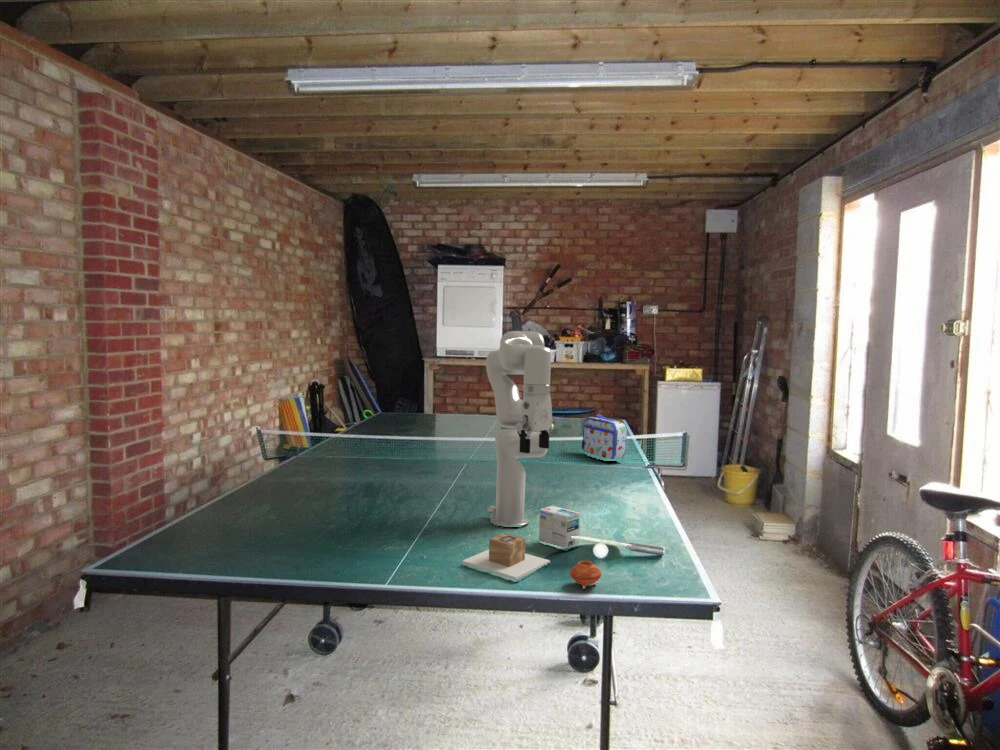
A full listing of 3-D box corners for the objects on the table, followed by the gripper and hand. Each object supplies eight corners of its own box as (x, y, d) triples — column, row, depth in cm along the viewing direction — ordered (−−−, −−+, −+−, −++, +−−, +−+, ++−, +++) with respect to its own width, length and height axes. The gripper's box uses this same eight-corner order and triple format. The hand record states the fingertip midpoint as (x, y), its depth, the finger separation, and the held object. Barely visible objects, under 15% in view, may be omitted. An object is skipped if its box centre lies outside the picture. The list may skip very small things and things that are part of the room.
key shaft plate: (462, 565, 176) (462, 538, 175) (497, 550, 189) (498, 525, 188) (516, 583, 165) (517, 554, 165) (549, 565, 178) (550, 539, 177)
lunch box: (577, 455, 335) (578, 412, 333) (592, 453, 340) (594, 412, 339) (611, 465, 311) (613, 420, 310) (628, 463, 317) (630, 419, 315)
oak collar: (509, 567, 172) (510, 545, 172) (488, 560, 176) (489, 539, 176) (524, 559, 178) (525, 538, 177) (504, 554, 182) (504, 533, 181)
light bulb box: (579, 547, 194) (581, 511, 193) (566, 552, 189) (567, 516, 188) (551, 538, 201) (552, 504, 200) (537, 543, 196) (538, 508, 195)
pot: (603, 592, 160) (598, 566, 160) (572, 596, 162) (566, 570, 161) (603, 579, 168) (598, 554, 168) (574, 583, 169) (568, 558, 169)
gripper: (530, 393, 174) (528, 456, 175) (563, 389, 188) (561, 448, 189) (507, 391, 178) (505, 452, 179) (542, 387, 192) (540, 444, 193)
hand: (534, 450), depth 184 cm, fingers open, 9 cm apart
